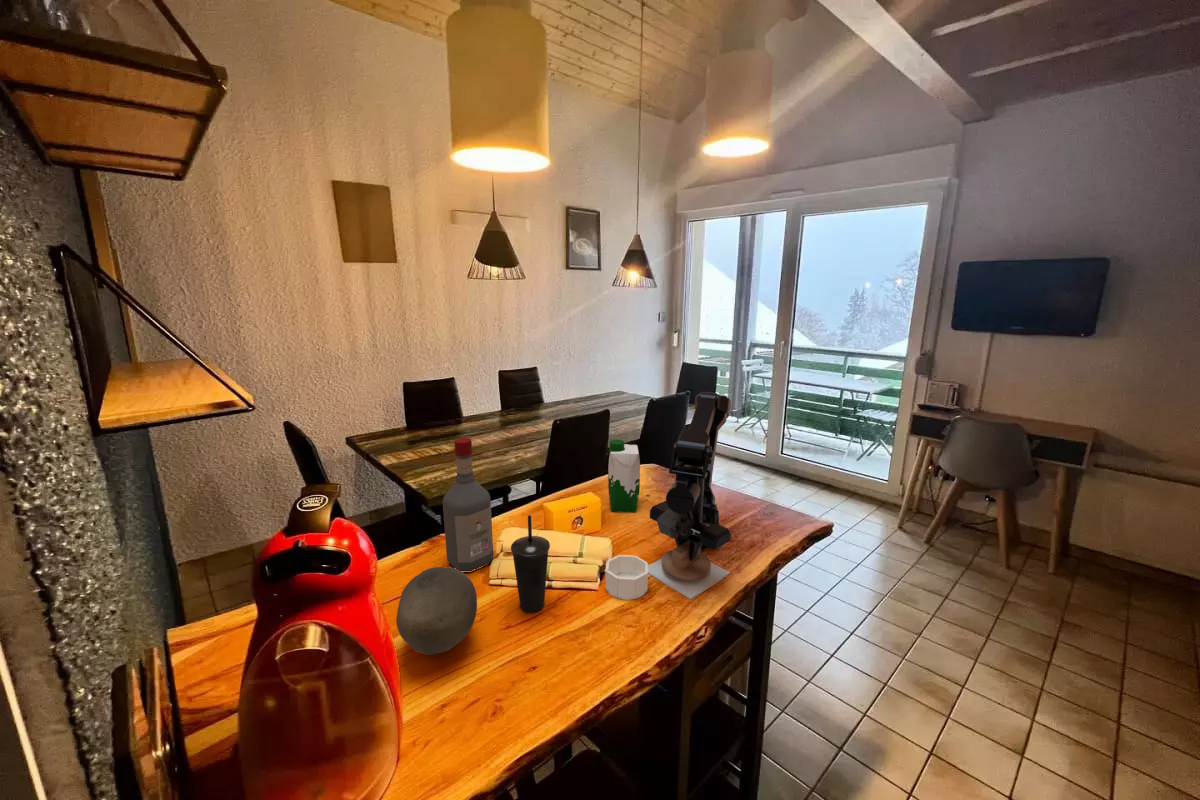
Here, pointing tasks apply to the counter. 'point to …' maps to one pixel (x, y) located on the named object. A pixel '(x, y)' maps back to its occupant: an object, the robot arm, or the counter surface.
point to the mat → (687, 586)
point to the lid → (685, 563)
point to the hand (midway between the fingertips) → (686, 557)
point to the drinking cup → (531, 570)
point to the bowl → (626, 577)
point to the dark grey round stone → (436, 610)
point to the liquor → (467, 515)
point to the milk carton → (623, 476)
